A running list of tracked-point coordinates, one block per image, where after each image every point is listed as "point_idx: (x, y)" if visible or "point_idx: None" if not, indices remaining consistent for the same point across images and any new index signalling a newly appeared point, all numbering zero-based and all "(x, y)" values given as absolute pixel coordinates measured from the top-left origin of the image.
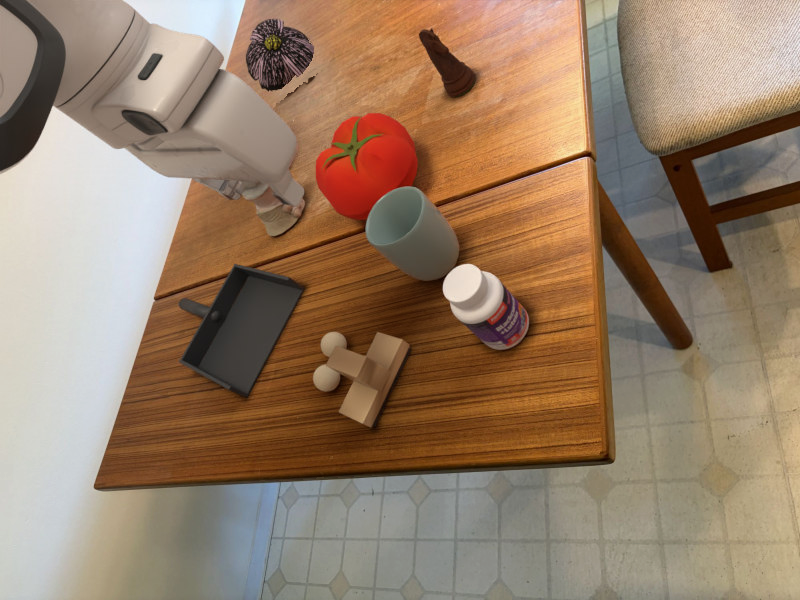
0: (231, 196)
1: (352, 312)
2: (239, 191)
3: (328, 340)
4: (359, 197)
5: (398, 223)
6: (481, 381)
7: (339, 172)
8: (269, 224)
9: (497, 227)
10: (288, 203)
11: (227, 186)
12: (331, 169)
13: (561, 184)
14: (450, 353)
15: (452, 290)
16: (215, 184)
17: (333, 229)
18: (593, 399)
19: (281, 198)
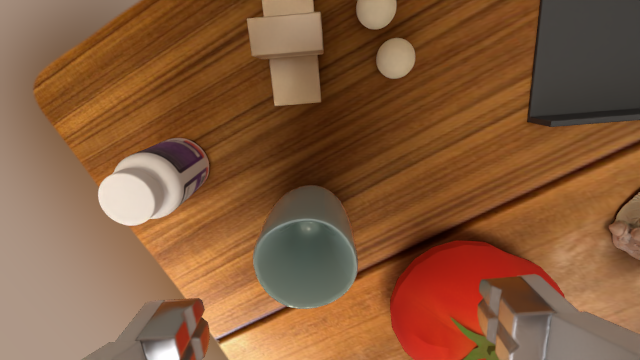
0: (496, 291)
1: (407, 115)
2: (485, 308)
3: (393, 58)
4: (438, 276)
5: (333, 251)
6: (171, 99)
7: None
8: None
9: None
10: (155, 307)
11: (511, 333)
12: None
13: (221, 312)
14: (227, 115)
15: (130, 187)
16: (575, 341)
17: (523, 217)
18: (59, 126)
19: (147, 326)
